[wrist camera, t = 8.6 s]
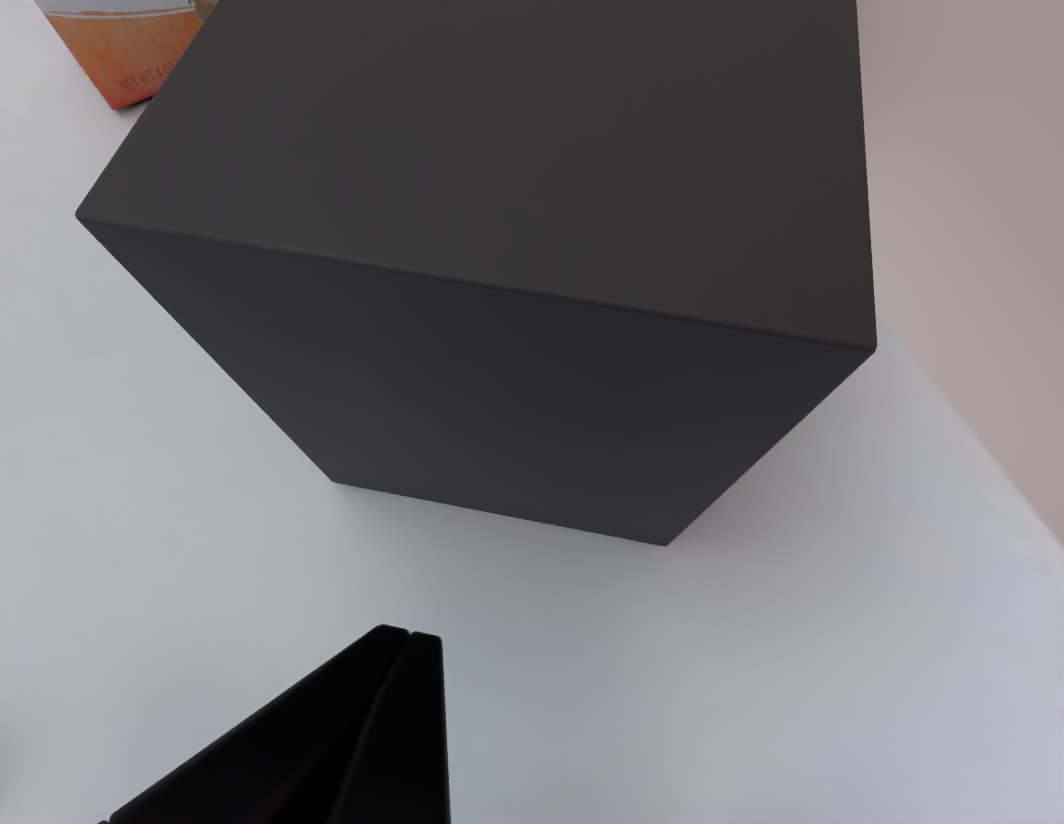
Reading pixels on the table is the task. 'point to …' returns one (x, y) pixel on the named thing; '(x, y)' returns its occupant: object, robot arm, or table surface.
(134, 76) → the cracker box
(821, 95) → the speaker
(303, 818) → the robot arm
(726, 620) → the table surface
